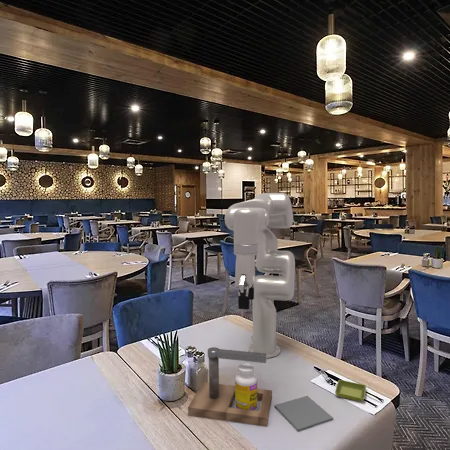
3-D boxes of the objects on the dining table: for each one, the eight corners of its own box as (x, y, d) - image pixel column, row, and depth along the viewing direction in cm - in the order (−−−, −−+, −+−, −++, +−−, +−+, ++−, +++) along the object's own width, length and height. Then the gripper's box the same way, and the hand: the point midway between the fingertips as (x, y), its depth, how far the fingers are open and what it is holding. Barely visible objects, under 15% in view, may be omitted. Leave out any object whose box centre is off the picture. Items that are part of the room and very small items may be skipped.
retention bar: (206, 358, 103) (206, 351, 103) (209, 353, 107) (209, 346, 106) (265, 364, 99) (265, 357, 99) (266, 358, 102) (266, 352, 102)
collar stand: (188, 415, 100) (187, 365, 99) (202, 389, 114) (201, 345, 113) (266, 426, 95) (266, 374, 94) (272, 397, 108) (272, 352, 107)
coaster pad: (274, 407, 104) (274, 405, 104) (307, 397, 108) (307, 395, 108) (297, 431, 93) (297, 429, 93) (333, 419, 97) (333, 417, 97)
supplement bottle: (251, 418, 99) (250, 375, 98) (231, 410, 102) (230, 369, 101) (261, 405, 104) (261, 365, 103) (242, 399, 108) (241, 359, 107)
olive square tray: (338, 385, 116) (338, 379, 116) (366, 391, 112) (366, 384, 112) (334, 398, 108) (334, 392, 108) (364, 405, 105) (364, 399, 104)
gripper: (239, 245, 115) (239, 295, 116) (228, 253, 98) (228, 312, 99) (261, 245, 113) (261, 296, 114) (254, 254, 96) (254, 314, 98)
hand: (246, 303), depth 107 cm, fingers open, 9 cm apart
